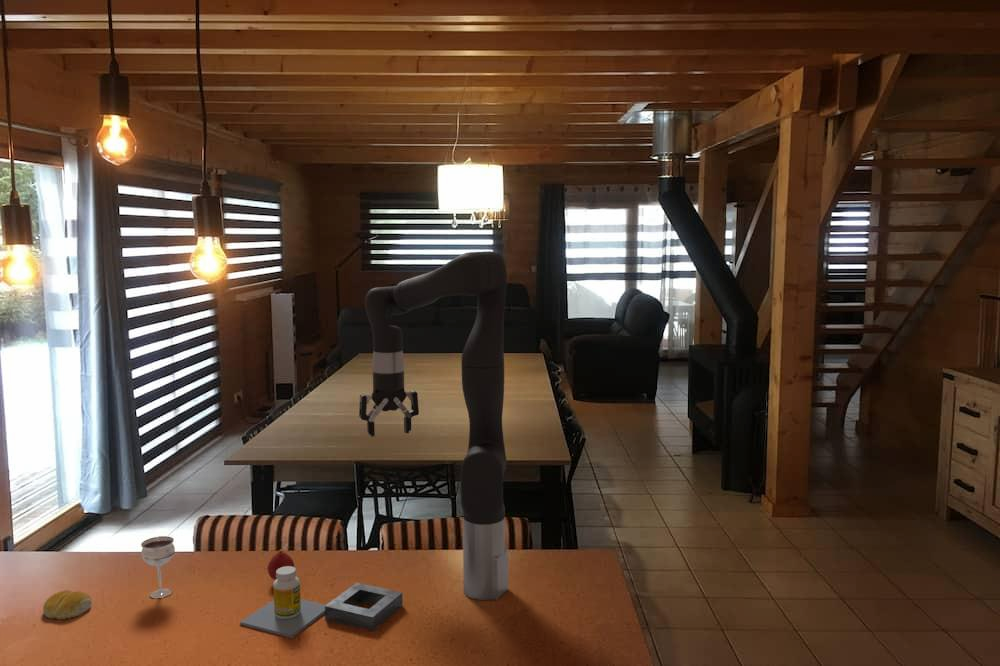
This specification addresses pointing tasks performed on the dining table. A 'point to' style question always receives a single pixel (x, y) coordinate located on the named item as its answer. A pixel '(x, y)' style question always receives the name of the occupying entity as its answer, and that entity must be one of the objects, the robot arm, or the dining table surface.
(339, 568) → the dining table surface
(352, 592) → the holder ring
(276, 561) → the onion
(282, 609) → the supplement bottle
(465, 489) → the robot arm
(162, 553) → the wineglass
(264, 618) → the rubber mat
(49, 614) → the bread roll
